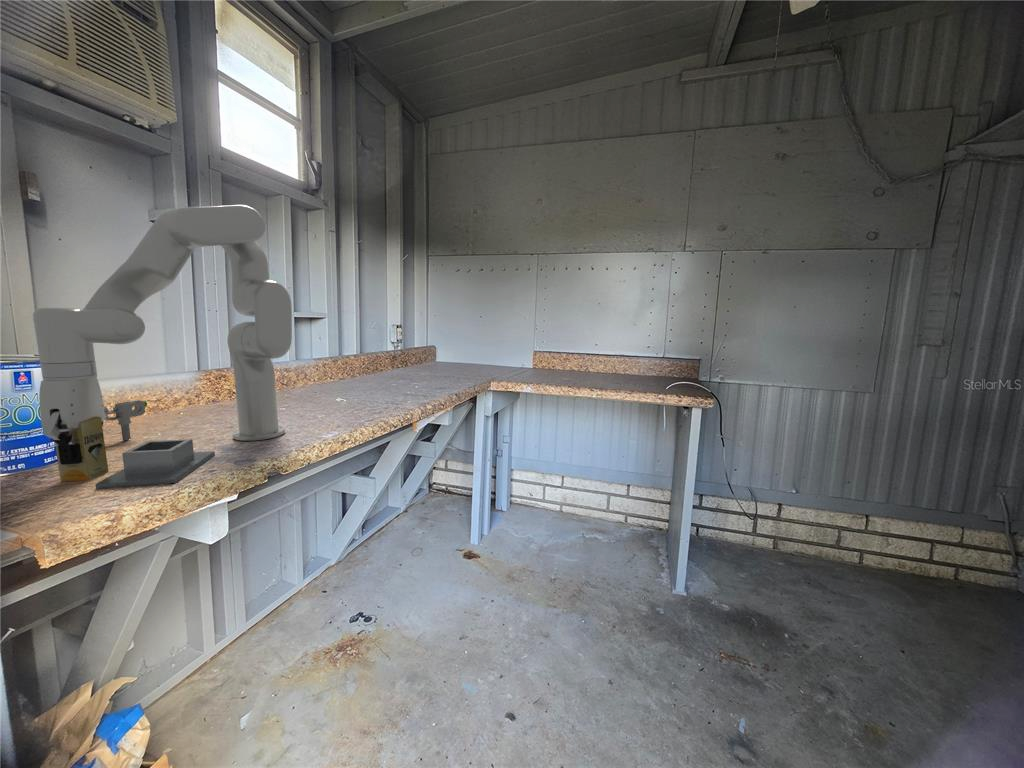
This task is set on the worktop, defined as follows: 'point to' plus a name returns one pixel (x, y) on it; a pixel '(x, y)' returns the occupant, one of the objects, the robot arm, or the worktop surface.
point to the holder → (156, 464)
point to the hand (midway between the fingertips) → (82, 457)
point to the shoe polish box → (86, 453)
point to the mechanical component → (126, 414)
